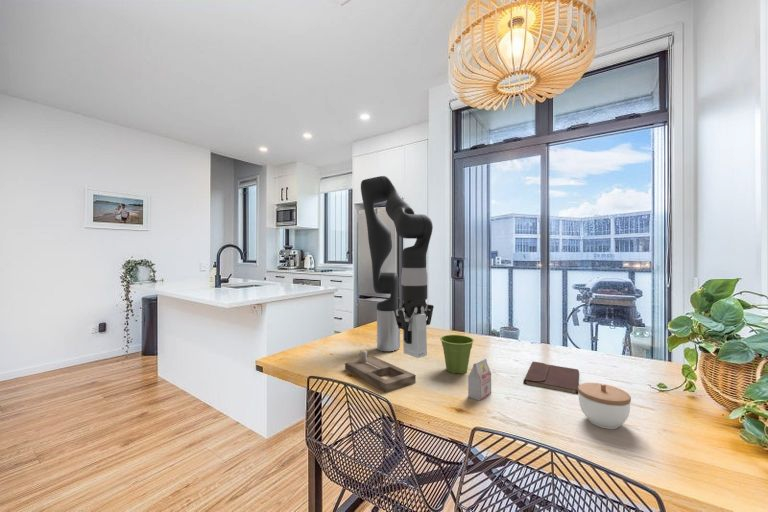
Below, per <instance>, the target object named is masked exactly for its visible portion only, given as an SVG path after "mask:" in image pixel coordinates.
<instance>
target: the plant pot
mask: <svg viewBox="0 0 768 512" xmlns="http://www.w3.org/2000/svg"><path fill="white" fill-rule="evenodd" d="M439 340H440V341H441V346H442V348H443V356H444V362H445V369H446V371H447V372H450V373H452V374H465V373H467V372H468V368H469V367H468V366H469V362H470V356H471V350H472V348H473V343H474V342H475V340H474V338H472V337H470V336H467V335H461V334H446V335H442V336H440V337H439Z"/></svg>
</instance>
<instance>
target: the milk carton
mask: <svg viewBox="0 0 768 512" xmlns="http://www.w3.org/2000/svg"><path fill="white" fill-rule="evenodd" d="M467 376H468V377H467V379H468V380H467V382H468V383H467V384H468V385H467V391H468V392H467V394H468V395H467V397H468V398H471V399H473V400H474V399H475V400H477V401H481V400H483V399H485V398H486V397H488V396H489V395H490V394H492V372H491V369H490V367H489V363H488V361H487V358H482V359H481V360H479V361H476V362H474V363H473V365H472V368H471V370H470V372H469V374H468V375H467Z"/></svg>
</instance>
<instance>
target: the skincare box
mask: <svg viewBox="0 0 768 512" xmlns="http://www.w3.org/2000/svg"><path fill="white" fill-rule="evenodd" d="M406 318H407V319H409V320H410V318H408V317H407V316H406ZM426 320H427V318H426V314H416V315H413V323H412V328H411V331H412V343H411V344H407V343H405V341H404V330H403V329H402V342H403V344H402V345H403V349H402V350H403V354H404V355H408V356H410V357H413V358H416V359H419V358H423V357H427V355H428V345H427V344H428V343H427V326H426ZM407 326H408V322H407Z"/></svg>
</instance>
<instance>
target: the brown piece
mask: <svg viewBox="0 0 768 512" xmlns="http://www.w3.org/2000/svg"><path fill="white" fill-rule="evenodd" d="M344 365H345V366H344V368H345V369H344V370H345V371H347V372H349V373H350V374H353V375H354V376H356V377H358V378H359V379H361V380H363V381H364V382H365V383H368V384H370V385H371V386H374V387H376V388H377V389H379V390H380V391H383V392H384V393H390V392H392V391H395V390H397V389H401V388H403V387H407V386H410V385H413V384H415V383H416V382H417V381H416V374H414V373H412V372H410V371H407V370H405V369H403V368H400V367H398V366H396V365H394V364H391V363H389V362H386V361H385V360H382V359H381V358H377V357H375V356H374V355H371V356H368V350H360V358H359V359H354V360H350V361H346V362H345V363H344ZM387 375H390V376H392V377H389V378H386V379H385V378H383V377H384V376H387Z"/></svg>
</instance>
